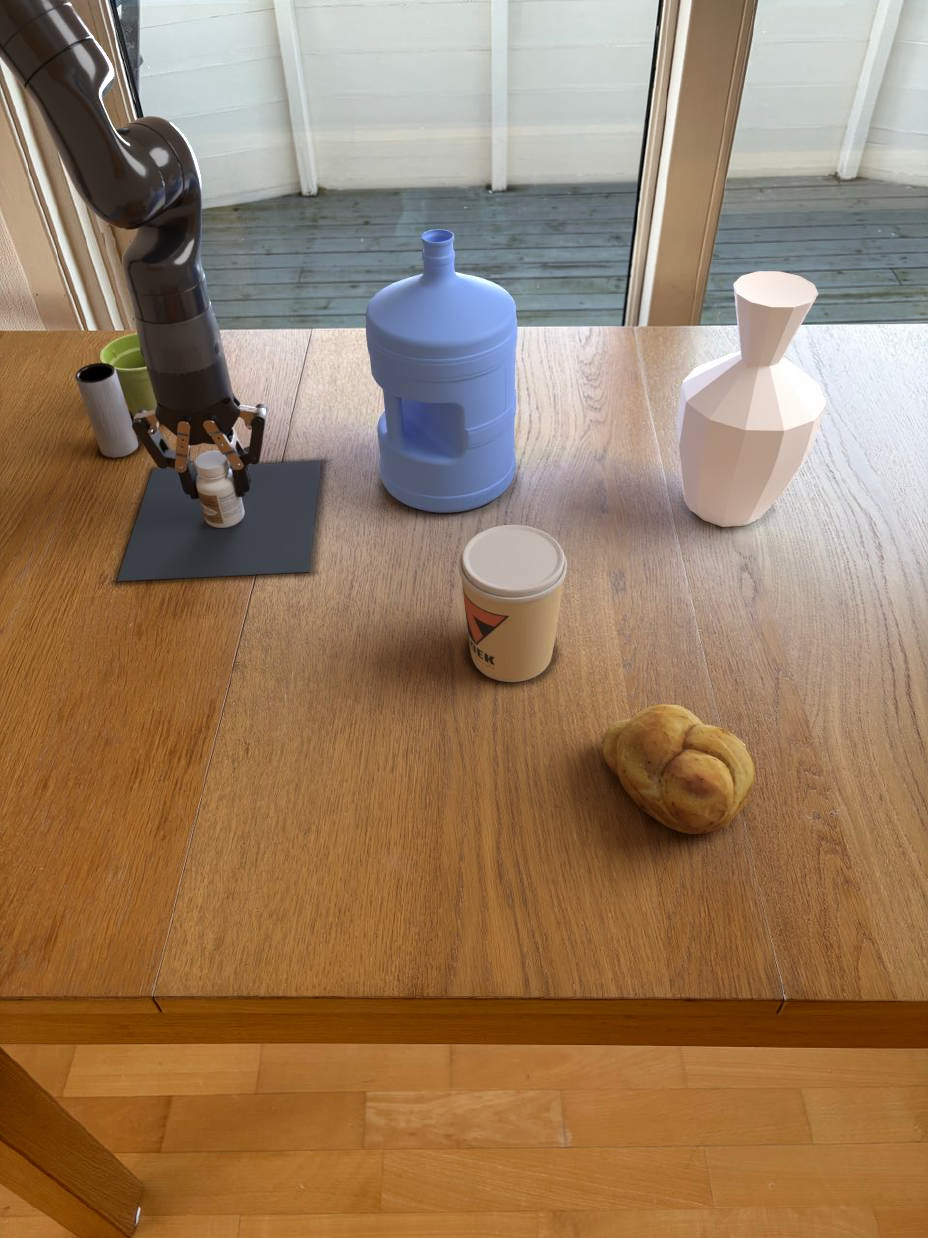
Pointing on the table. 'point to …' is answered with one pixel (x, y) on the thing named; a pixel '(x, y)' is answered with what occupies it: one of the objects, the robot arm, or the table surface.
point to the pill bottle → (217, 490)
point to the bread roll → (680, 768)
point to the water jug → (444, 383)
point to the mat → (257, 545)
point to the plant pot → (130, 372)
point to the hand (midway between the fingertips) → (219, 493)
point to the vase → (750, 407)
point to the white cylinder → (107, 409)
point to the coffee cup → (512, 600)
